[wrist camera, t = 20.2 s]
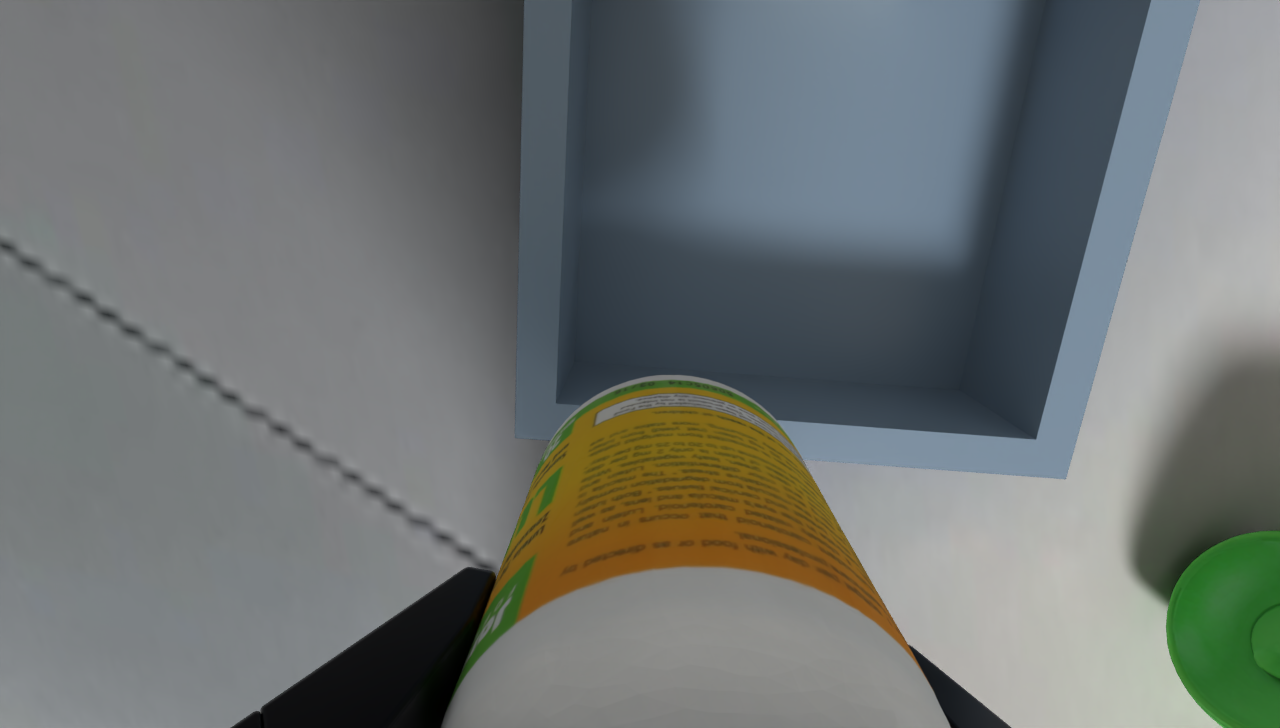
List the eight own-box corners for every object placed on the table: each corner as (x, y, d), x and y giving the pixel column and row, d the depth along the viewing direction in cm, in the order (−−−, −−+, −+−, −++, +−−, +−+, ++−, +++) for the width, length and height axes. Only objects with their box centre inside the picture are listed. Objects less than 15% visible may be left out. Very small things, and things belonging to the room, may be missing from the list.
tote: (968, 412, 21) (1065, 479, 16) (546, 380, 21) (514, 438, 16) (1120, -256, 16) (1326, -450, 11) (570, -301, 16) (535, -514, 11)
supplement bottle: (535, 361, 12) (139, 1004, 3) (817, 373, 12) (1433, 1054, 3) (537, 603, 13) (288, 1561, 4) (787, 614, 13) (1111, 1594, 4)
